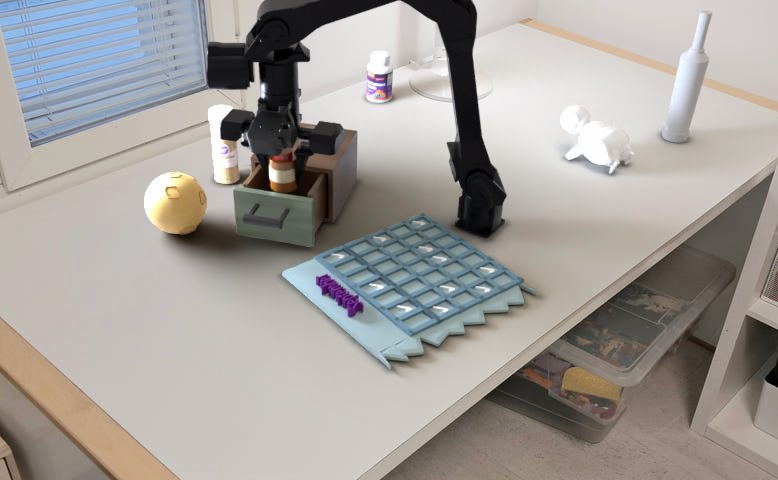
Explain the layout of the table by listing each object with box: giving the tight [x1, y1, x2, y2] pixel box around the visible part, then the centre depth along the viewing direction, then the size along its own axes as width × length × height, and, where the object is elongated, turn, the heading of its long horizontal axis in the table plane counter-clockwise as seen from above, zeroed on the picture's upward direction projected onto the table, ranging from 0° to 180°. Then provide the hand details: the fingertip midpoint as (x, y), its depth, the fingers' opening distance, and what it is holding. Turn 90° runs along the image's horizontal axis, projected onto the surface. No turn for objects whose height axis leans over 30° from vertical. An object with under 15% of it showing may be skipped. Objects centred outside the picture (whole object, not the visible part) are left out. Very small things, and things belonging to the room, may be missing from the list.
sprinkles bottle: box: [207, 104, 241, 185], centre depth 153 cm, size 5×5×14 cm
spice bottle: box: [269, 147, 298, 193], centre depth 138 cm, size 4×4×6 cm
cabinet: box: [250, 122, 359, 224], centre depth 150 cm, size 15×14×10 cm
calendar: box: [281, 212, 539, 370], centre depth 132 cm, size 27×28×2 cm
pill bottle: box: [366, 49, 394, 104], centre depth 183 cm, size 5×5×10 cm
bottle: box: [661, 9, 713, 144], centre depth 166 cm, size 5×5×25 cm
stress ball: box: [144, 171, 208, 236], centre depth 141 cm, size 10×10×10 cm
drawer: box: [232, 163, 329, 248], centre depth 141 cm, size 18×13×8 cm
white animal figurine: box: [560, 104, 635, 174], centre depth 165 cm, size 9×8×15 cm
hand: (283, 180), depth 139 cm, fingers closed on spice bottle, 4 cm apart
